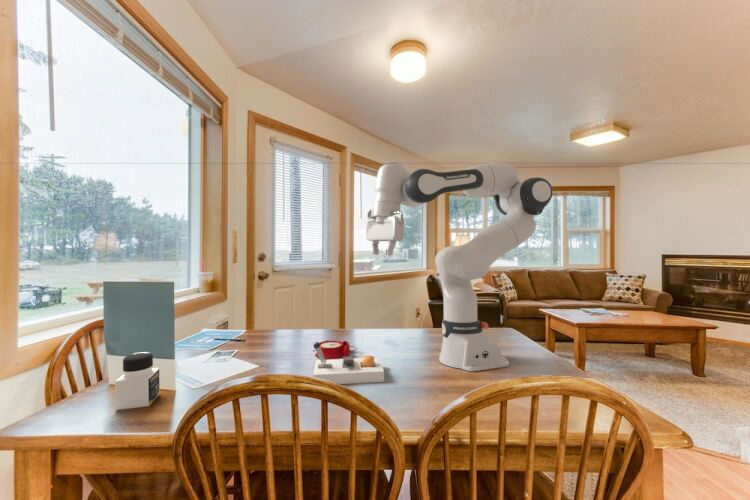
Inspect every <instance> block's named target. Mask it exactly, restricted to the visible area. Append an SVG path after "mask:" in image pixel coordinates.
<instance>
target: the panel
mask: <svg viewBox="0 0 750 500" xmlns="http://www.w3.org/2000/svg"><path fill="white" fill-rule="evenodd" d="M353 359H354V364H343V358H337V359H325V360H326V363H325V364H323V365H322V363H321V361H320V359H315V364H314V369H313V374H312V375H313V376H312V378H313V377H316V378H320V379H325V380H329V381H332V382H335V383H338V384H337V385H347V384H348V385H349V384H350V385H352V384H365V383H366V384H367V383H382V382H385V370H384V367H383V365H382V363H381V360H380V357H379V356H377V357H375V356H374V367H364V368H362V357H357V358H354V357H353Z"/></svg>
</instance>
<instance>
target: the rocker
mask: <svg viewBox="0 0 750 500" xmlns="http://www.w3.org/2000/svg"><path fill="white" fill-rule="evenodd" d="M353 358H354V356H351V355H350V356H348V357H344V356H343V357H342V359H343V364H354V359H353Z"/></svg>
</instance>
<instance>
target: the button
mask: <svg viewBox="0 0 750 500" xmlns="http://www.w3.org/2000/svg"><path fill="white" fill-rule="evenodd" d="M361 358H362V368H364V367H374V358H375V356H373V355H364V356H362V357H361Z"/></svg>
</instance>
